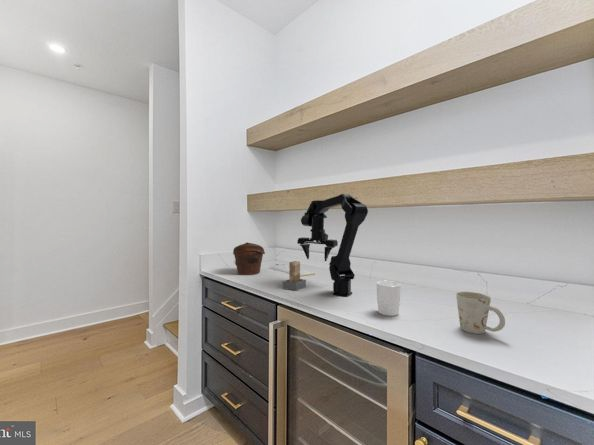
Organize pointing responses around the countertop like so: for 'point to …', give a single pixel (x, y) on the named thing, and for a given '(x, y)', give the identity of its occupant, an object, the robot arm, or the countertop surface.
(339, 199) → the robot arm
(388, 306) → the white cup
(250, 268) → the brown tapered cylinder
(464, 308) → the mug
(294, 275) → the slat
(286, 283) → the end cap
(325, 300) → the countertop surface
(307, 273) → the baseboard
